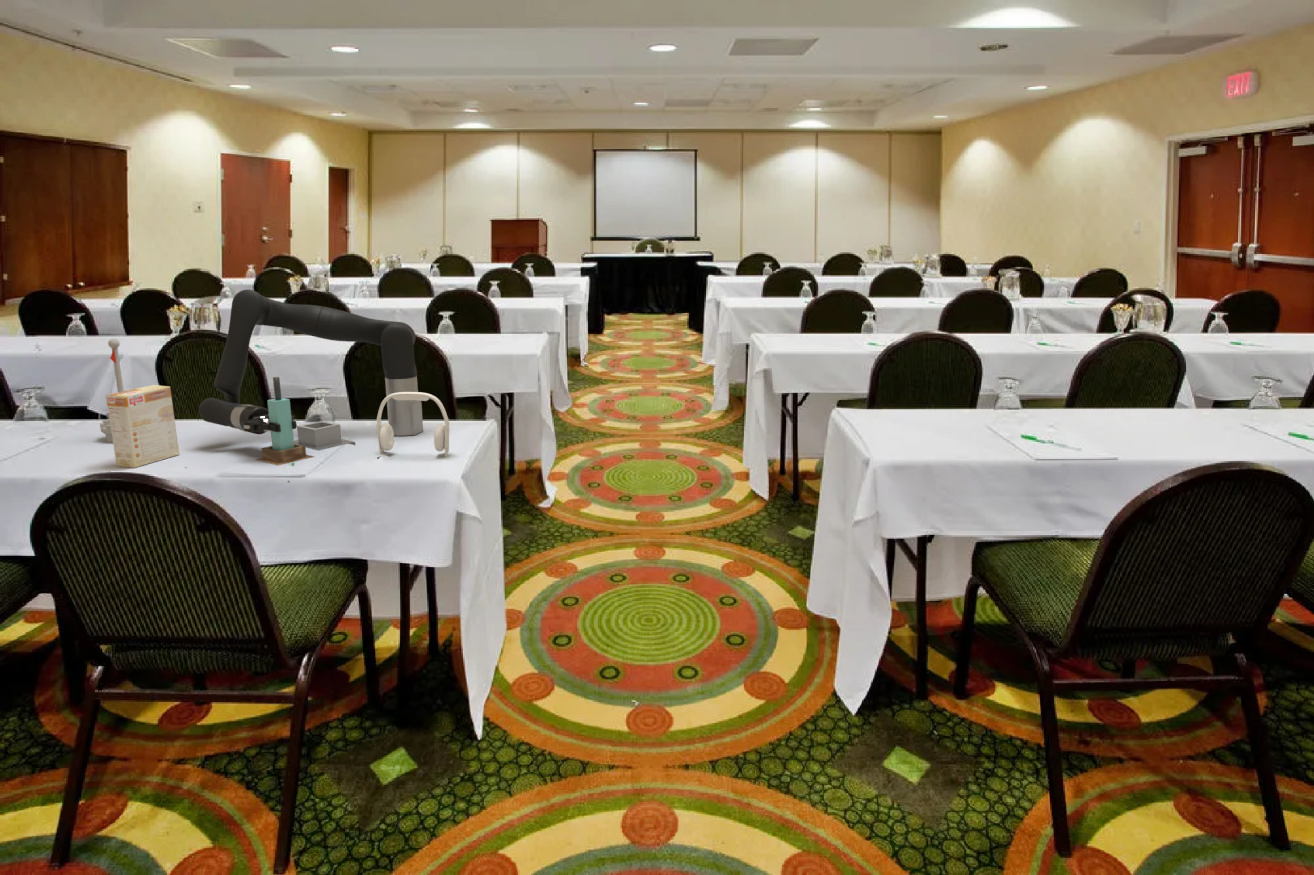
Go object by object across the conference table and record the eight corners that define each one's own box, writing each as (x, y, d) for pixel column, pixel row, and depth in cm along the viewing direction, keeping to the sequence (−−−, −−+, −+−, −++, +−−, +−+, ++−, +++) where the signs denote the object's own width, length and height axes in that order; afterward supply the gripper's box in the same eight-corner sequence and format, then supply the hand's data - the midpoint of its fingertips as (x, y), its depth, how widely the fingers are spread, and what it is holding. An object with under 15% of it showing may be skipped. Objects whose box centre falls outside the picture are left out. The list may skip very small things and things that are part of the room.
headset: (454, 452, 266) (450, 389, 262) (446, 459, 259) (442, 394, 255) (383, 452, 267) (378, 389, 263) (374, 458, 260) (369, 394, 256)
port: (321, 437, 285) (320, 418, 283) (355, 445, 275) (353, 424, 274) (285, 445, 275) (283, 425, 274) (319, 453, 266) (317, 432, 264)
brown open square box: (291, 454, 266) (289, 440, 265) (314, 460, 259) (313, 445, 258) (254, 462, 257) (253, 448, 256) (278, 469, 251) (276, 454, 250)
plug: (286, 455, 261) (278, 375, 255) (295, 457, 258) (287, 377, 253) (273, 458, 257) (264, 377, 252) (282, 460, 255) (273, 379, 250)
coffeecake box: (161, 452, 269) (152, 384, 264) (180, 454, 266) (171, 385, 262) (114, 466, 255) (104, 394, 251) (134, 468, 253) (124, 395, 248)
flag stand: (109, 434, 291) (95, 336, 284) (156, 432, 294) (143, 334, 287) (96, 444, 279) (80, 342, 272) (145, 441, 282) (131, 340, 275)
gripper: (225, 410, 258) (261, 417, 248) (273, 401, 269) (309, 408, 259) (228, 437, 259) (264, 445, 249) (276, 427, 270) (312, 435, 261)
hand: (287, 426), depth 254 cm, fingers closed on plug, 4 cm apart
